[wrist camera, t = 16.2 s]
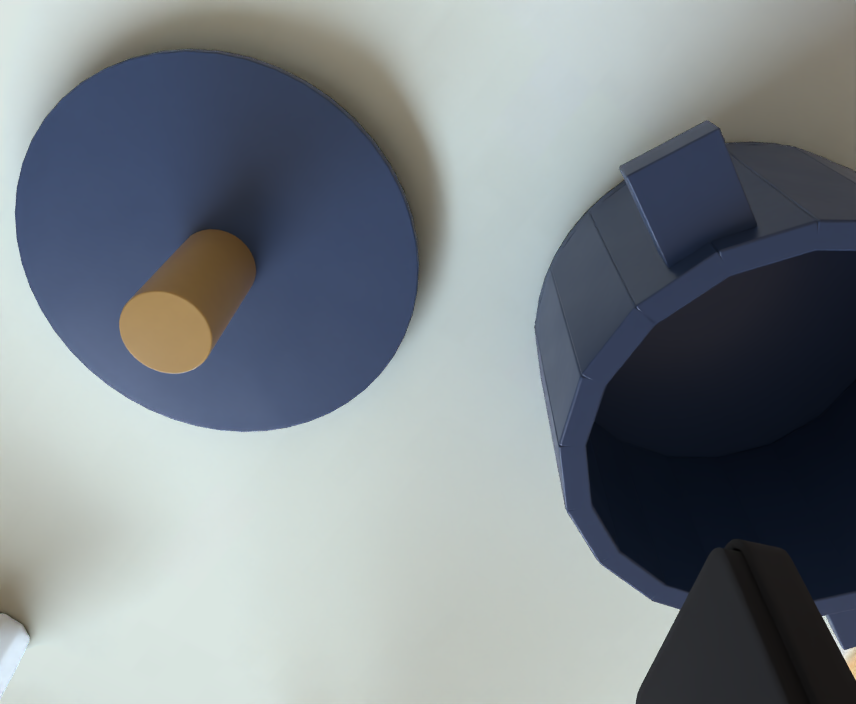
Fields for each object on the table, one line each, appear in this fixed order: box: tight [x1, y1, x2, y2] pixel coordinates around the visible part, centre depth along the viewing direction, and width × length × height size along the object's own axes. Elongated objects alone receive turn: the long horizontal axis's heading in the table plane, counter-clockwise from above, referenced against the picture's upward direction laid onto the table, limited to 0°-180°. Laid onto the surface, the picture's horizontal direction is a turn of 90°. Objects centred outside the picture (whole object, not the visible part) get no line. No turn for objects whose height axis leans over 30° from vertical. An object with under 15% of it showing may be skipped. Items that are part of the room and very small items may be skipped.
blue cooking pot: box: [535, 120, 856, 650], centre depth 25 cm, size 14×19×8 cm
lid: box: [15, 49, 419, 432], centre depth 25 cm, size 15×15×7 cm
